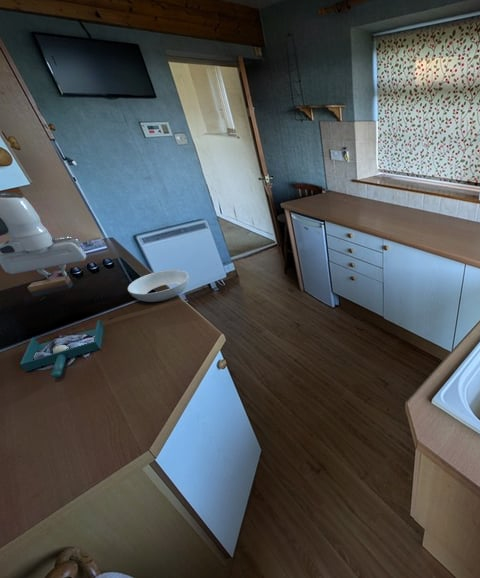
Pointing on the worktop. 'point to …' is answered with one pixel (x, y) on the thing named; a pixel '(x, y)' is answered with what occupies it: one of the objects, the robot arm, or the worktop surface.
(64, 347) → the paper wad
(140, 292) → the serving bowl
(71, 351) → the dustpan
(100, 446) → the worktop surface
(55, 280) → the brush
